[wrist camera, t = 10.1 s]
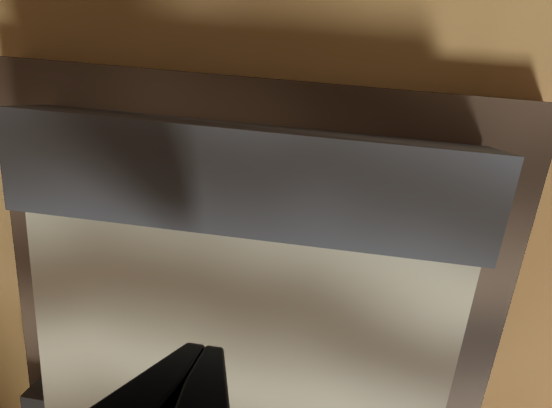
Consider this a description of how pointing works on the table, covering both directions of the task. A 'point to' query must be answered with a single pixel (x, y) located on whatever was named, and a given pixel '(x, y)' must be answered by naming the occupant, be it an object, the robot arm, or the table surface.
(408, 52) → the table surface
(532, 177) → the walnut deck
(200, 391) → the robot arm
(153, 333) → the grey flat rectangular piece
